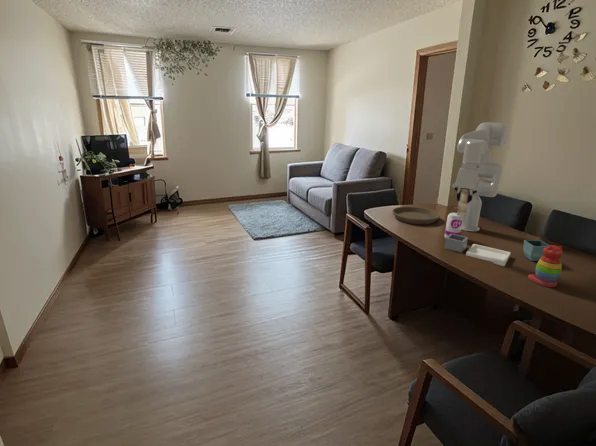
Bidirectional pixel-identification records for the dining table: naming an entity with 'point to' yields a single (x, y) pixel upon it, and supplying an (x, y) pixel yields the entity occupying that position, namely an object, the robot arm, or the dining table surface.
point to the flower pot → (534, 249)
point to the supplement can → (453, 224)
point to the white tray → (489, 254)
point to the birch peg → (463, 202)
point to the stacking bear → (548, 267)
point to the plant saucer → (415, 215)
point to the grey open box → (456, 242)
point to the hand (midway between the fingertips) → (463, 200)
